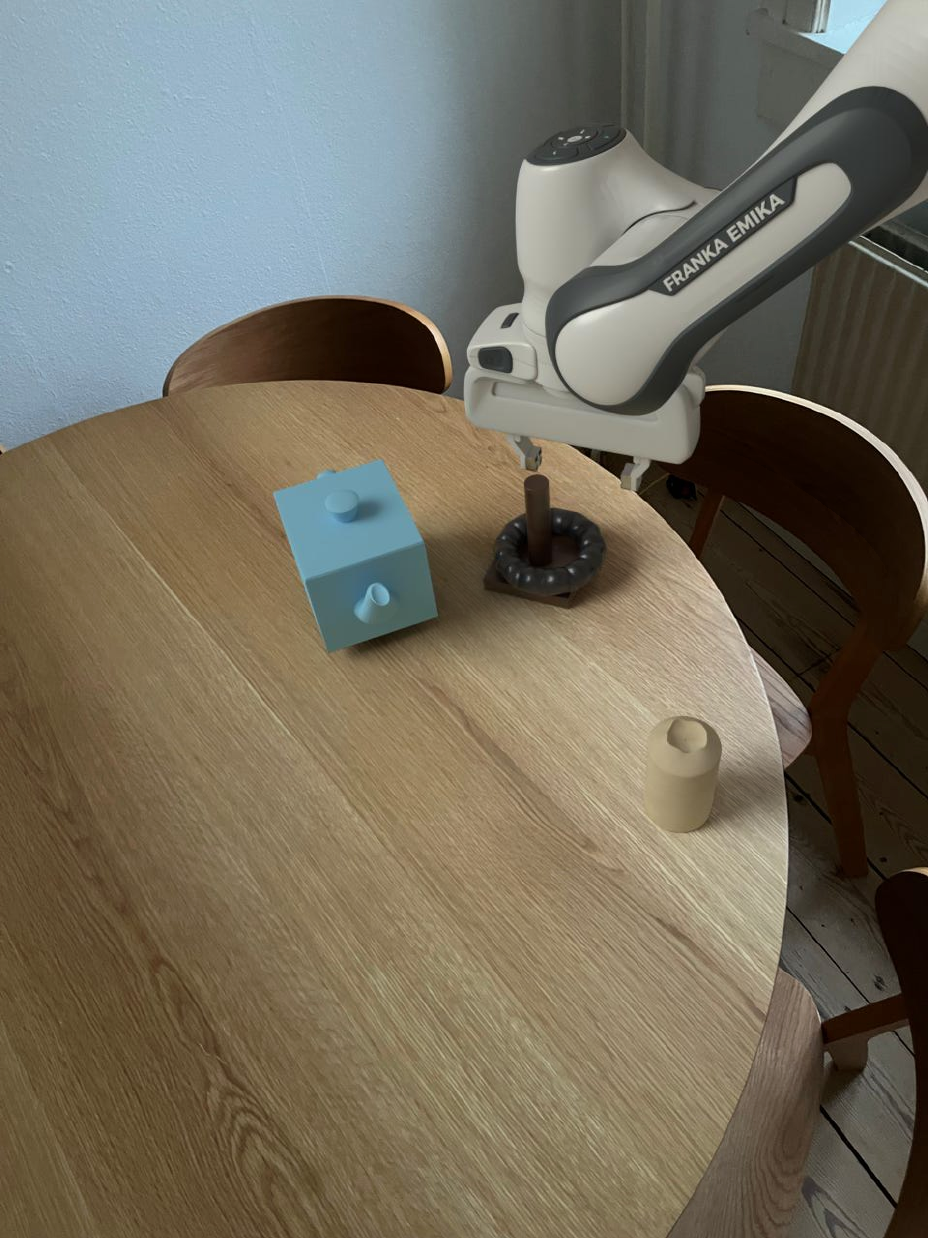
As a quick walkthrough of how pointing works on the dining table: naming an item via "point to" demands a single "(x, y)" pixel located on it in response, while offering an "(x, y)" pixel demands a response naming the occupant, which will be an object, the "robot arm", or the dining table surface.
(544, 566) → the stand
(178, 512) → the dining table surface
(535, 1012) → the dining table surface
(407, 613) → the teapot
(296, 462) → the dining table surface
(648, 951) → the dining table surface
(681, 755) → the candle
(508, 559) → the ring
